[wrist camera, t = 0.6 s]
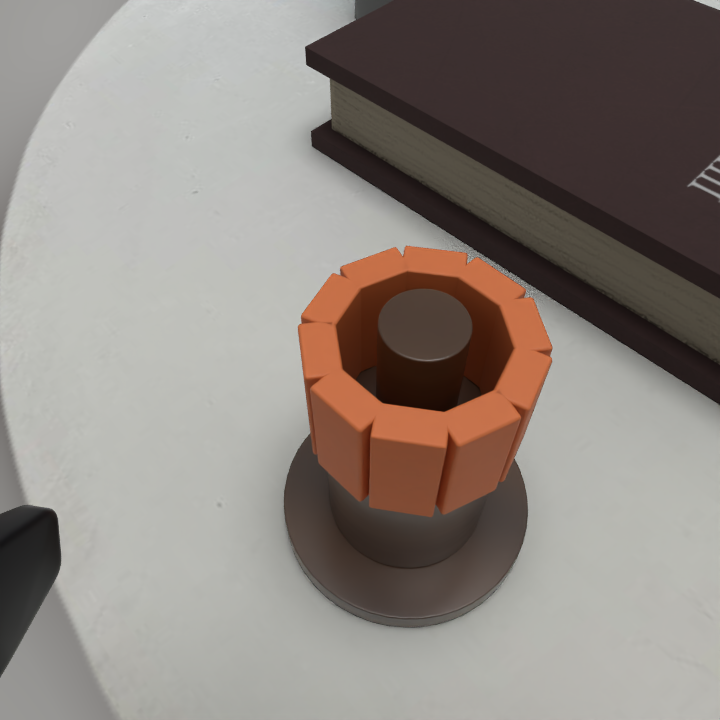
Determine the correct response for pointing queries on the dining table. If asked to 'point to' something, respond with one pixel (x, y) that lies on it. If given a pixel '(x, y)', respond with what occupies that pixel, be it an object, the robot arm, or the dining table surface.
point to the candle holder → (368, 6)
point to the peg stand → (401, 530)
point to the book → (552, 150)
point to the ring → (414, 425)
